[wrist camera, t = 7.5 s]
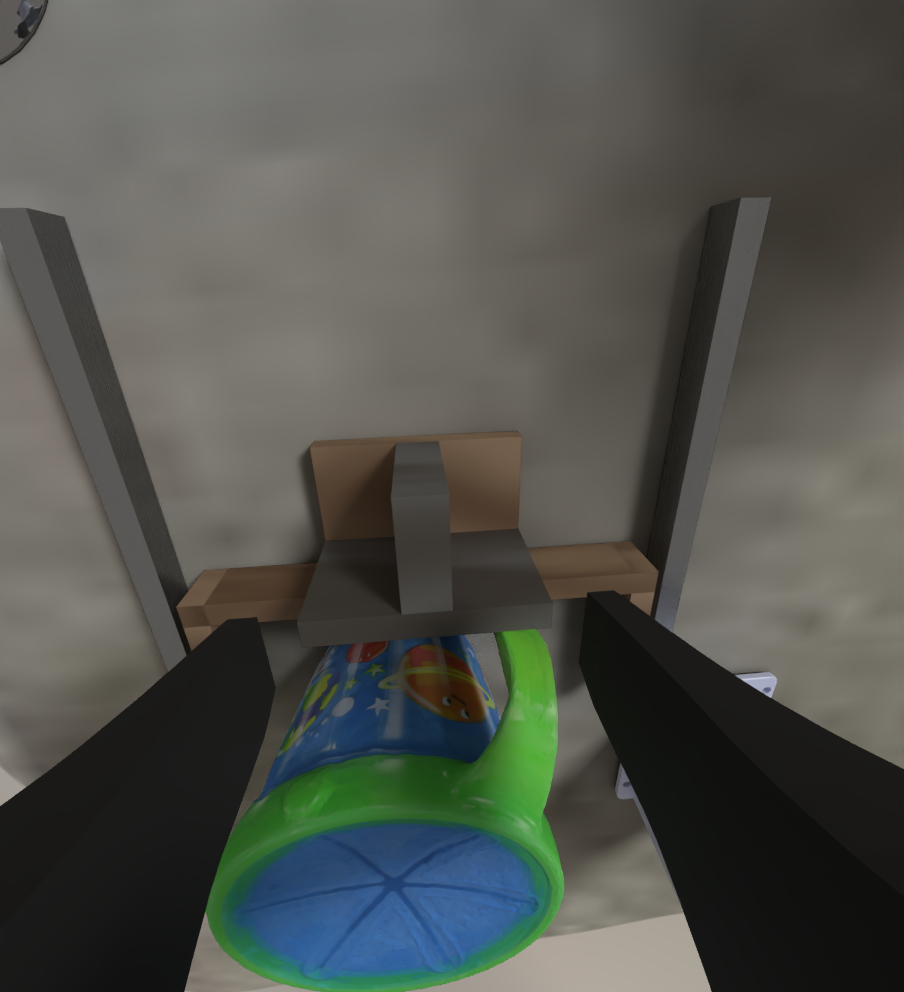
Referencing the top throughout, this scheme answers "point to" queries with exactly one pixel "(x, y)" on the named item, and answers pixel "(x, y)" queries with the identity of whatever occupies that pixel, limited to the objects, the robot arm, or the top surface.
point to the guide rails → (125, 478)
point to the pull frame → (417, 551)
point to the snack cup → (399, 822)
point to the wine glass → (18, 24)
